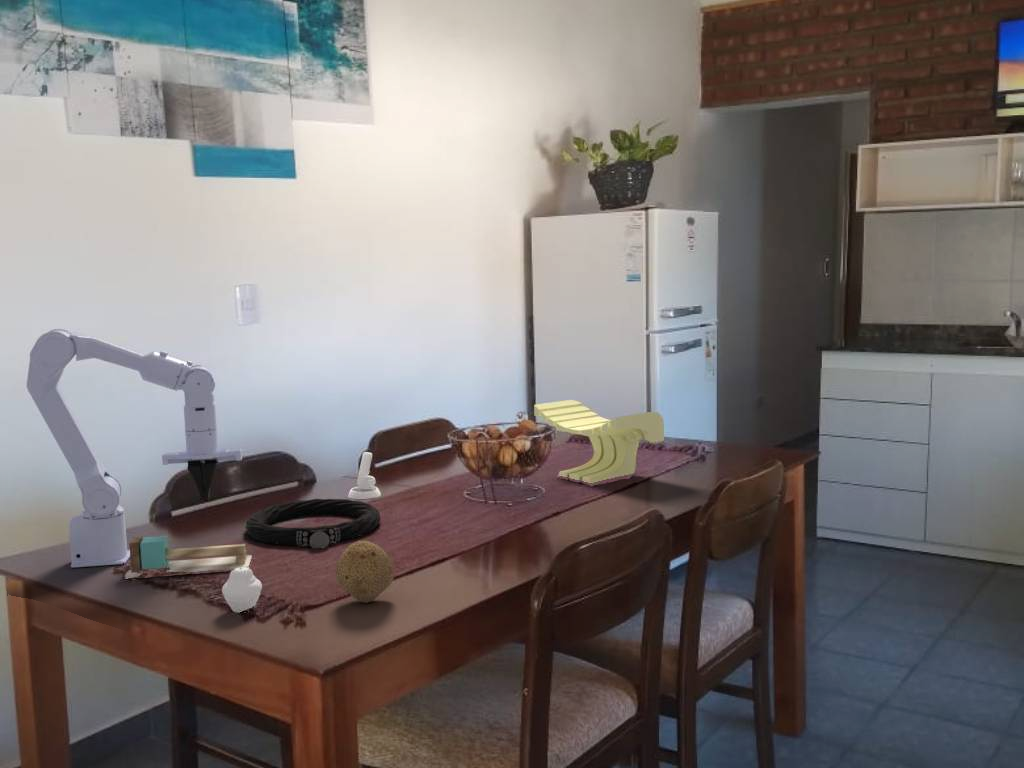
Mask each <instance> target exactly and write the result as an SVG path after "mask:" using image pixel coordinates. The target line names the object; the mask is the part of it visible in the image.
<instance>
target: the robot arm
mask: <svg viewBox="0 0 1024 768" xmlns="http://www.w3.org/2000/svg"><path fill="white" fill-rule="evenodd" d="M75 356H76V358H75V359H76V360H75V361H76V362H78V361H83V360H90V359H97V360H100V361H104V362H107V363H110V364H114V365H117V366H121V367H123V368H128V369H131V370H134V371H137V372H139V374H140V376H141V379H142V380H143V381H145V382H148V383H151V384H154V385H156V386H160V387H163V388H166V389H169V390H173V391H175V392H177V391H183V393H184V406H183V416H184V430H185V431H184V432H185V433H184V434H185V444H186V445H185V446H186V447H185V448H186V450H184V451H175V452H165V453H163V454H161V458H162V466H165V465H171V464H174V465H175V464H187V470H188V473H189V474H190V476H191V477H192V479H193V481H194V483H195V485H196V487H197V490H198V494H199V497H200V500H201V501H205V500H206V501H208V500H210V497H211V496H210V494H211V486H212V483H213V479H214V475H215V472H216V470H217V467H218V464H219V462H223V461H238V462H239V461H242V460H243V449H242V448H235V449H233V448H226V449H225V448H218V435H217V430H218V429H217V417H216V405H215V403H214V401H215V396H214V393H213V392H214V391H215V387H216V382H215V381H214V378H213V375H212V373H211V372H210V371H209V370H208V369H207V368H206V367H203V366H202V365H201V364H194V365H193V361H191V360H187V361H183V360H180V359H178V358H174V357H172V356H168V352H167V351H163V350H161V351H160V352H157V351H151V352H149V353H147V354H141V353H139V352H136V351H133V350H131V349H128V348H125V347H122V346H120V345H117V344H114V343H111V342H110V341H107V340H104V339H101V338H98V337H95V336H91V335H88V334H85V333H84V334H83V333H79V332H70V331H68V330H66V329H63V328H62V329H61V328H55V329H51V330H49V331H47V332H45V333H43V334H41V335H40V336H39V337H38V338H37V340H36V342H35V343H34V345H33V347H32V348H31V351H30V353H29V363H28V365H29V366H28V372H27V378H26V379H27V380H26V388H27V392H29V395H30V396H31V398H32V400H33V402H34V404H35V405H36V407H37V409H38V411H39V413H40V415H41V416H42V418H43V421H44V422H45V424H46V425H47V428H48V429H49V431H50V432H51V434H52V436H53V438H54V440H55V441H56V443H57V444H58V447H59V449H60V450H61V452H62V454H63V455H64V457H65V459H66V461H67V463H68V465H69V466H70V468H71V470H72V472H73V474H74V477H75V481H76V483H77V486H78V489H79V490H80V492H81V497H82V498H81V504H82V507H83V509H84V511H83V512H82V514H81V515H74V516H72V517H71V519H70V523H69V532H68V533H69V534H68V535H69V543H70V544H69V545H70V556H71V557H70V558H71V564H70V568H85V567H96V566H110V565H111V566H112V565H123V563H124V564H126V563H127V561H128V560H129V558H130V549H128V544H127V529H126V519H125V518H126V516H125V508H124V507H122V506H121V505H120V504H119V503H120V497H121V496H122V495H121V494H122V485H121V482H120V481H119V480H118V478H117V477H115V476H113V475H112V474H110V473H109V471H108V470H107V469H106V467H105V465H104V464H103V463H102V462H101V460H99V458H98V456H97V453H96V452H95V450H94V449H93V446H92V445H91V443H90V441H89V439H88V437H87V435H86V434H85V433H84V430H83V428H82V427H81V425H80V423H79V422H78V420H77V417H76V416H75V414H74V411H73V410H72V408H71V407H70V405H69V403H68V401H67V400H66V398H65V396H64V394H63V391H62V390H61V388H60V387H59V382H60V381H61V378H62V376H63V373H64V371H65V368H66V367H67V365H68V364H69V363H71V361H72V359H73V358H74V357H75Z"/></svg>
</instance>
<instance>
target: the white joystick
mask: <svg viewBox="0 0 1024 768" xmlns="http://www.w3.org/2000/svg"><path fill="white" fill-rule="evenodd" d="M372 459H373V453H372V452H368V451H364V452H363V453H362V457H361V461H360V467H359V470H358V474H357V475H358V476H357V480H356V483H357V486H355V487H352V488H351V489H350V490H349V493H348V495H347V497H348V498H350V499H352V500H369V499H370V500H371V499H374V498H378V497H380V496H381V495H382V494H381V491H380V489H379V488H378V487H377V486H375V485H376V483H377V481H376V478H375V477H374V476H373V475H369V474H370V469H371V465H372V464H371V463H372Z"/></svg>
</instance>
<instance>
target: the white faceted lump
mask: <svg viewBox="0 0 1024 768" xmlns="http://www.w3.org/2000/svg"><path fill="white" fill-rule="evenodd" d="M256 577H257V576H255V575H254V572H253V570H252V569H251V568H250V567H249V568H247V567H239V568H236V569H234V570H232V571H231V572H229V577H228V579H227V581H225V583H224V584H223V586H222V588H221V593H222V595H223V596H224V599H225V601H226V602H227V604H228V606H229V607H230V608H231V610H232V611H233V612H234V613H237V614H241V613H240V612H242V611H244V610H247V609H249V608H252V607H253V606H255V607H256V605H257V602H258V601H259V598H260V596H261V591H262V589H263V585H262V582H261V581H260V580H259V579H258V578H256Z"/></svg>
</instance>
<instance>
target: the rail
mask: <svg viewBox="0 0 1024 768" xmlns="http://www.w3.org/2000/svg"><path fill="white" fill-rule="evenodd" d="M143 539H144V537H143V536H133V537H132V538H131V540H130V541H129V543H128V544H129V550H130V557H129V558H130V560H129V561H130V568H131V570H128V571H126V573H125V575H124V578H125V579H128V578H134V577H138V576H140V575H142V573H141V574H140V573H137V572H139V571H140V570H141V569H142V561H141V548H140V543H141V541H142V540H143ZM165 553H166V559H169V563H168V565H167V566H166V567H167V568H168V567H169V568H170V570H167V572H168V571H169V572H197V571H198V572H199V571H208V570H228V569H229V570H232V569H236V568H239V567H247V568H249V569H250V567H249V565H250V566H251V564H250V562H251V563H252V561H251V559H253V557H252V556H253V555H251V554H247V549H246V543H241V544H239V543H238V544H225V545H211V546H198V547H197V546H196V547H195V546H194V547H184V548H181V547H180V548H170V549H169V548H168V549H167V550H165ZM228 555H229V556H228ZM231 555H235V556H231ZM213 556H215V557H213ZM216 556H220V557H216ZM200 557H202V558H200ZM203 557H207V558H203ZM187 558H188V559H187ZM189 558H196V559H189ZM173 559H180V560H173ZM181 559H182V560H181Z"/></svg>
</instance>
